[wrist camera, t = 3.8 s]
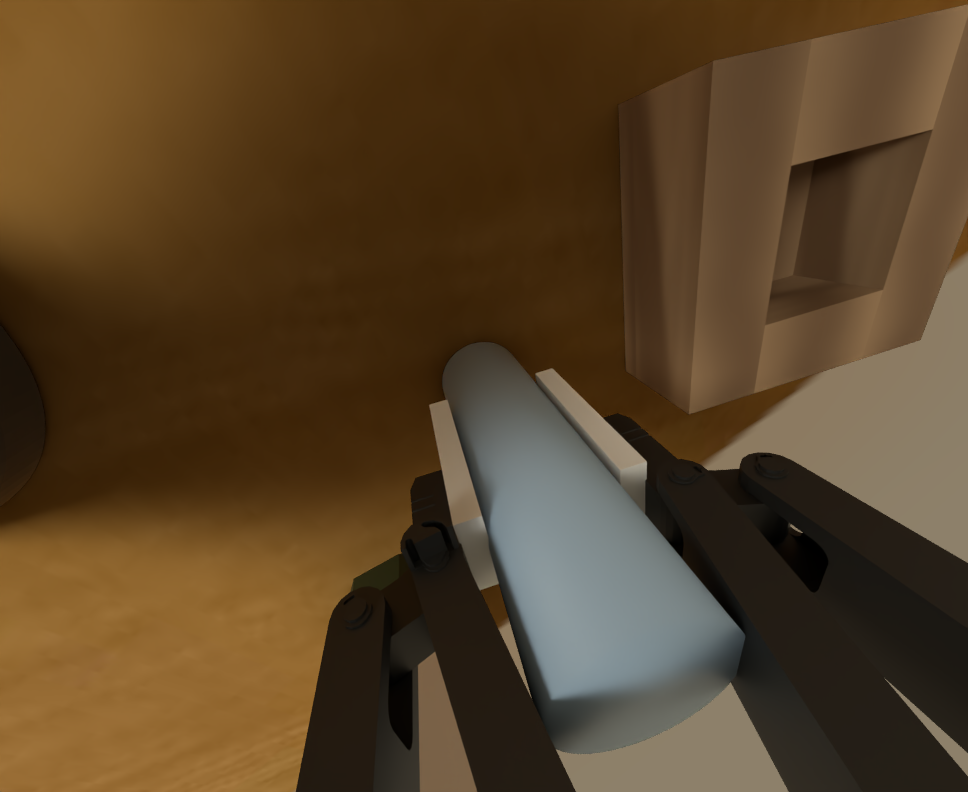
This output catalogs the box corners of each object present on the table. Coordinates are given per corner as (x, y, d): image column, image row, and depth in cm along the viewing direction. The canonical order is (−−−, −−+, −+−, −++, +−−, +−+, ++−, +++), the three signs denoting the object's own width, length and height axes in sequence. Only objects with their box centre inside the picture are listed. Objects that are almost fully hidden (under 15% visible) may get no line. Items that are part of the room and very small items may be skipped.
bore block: (625, 371, 21) (688, 414, 16) (618, 104, 15) (713, 60, 10) (814, 313, 22) (920, 339, 17) (875, 45, 16) (1056, -16, 12)
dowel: (453, 423, 20) (555, 776, 7) (432, 355, 18) (524, 678, 6) (524, 401, 20) (734, 703, 8) (512, 332, 18) (763, 588, 6)
